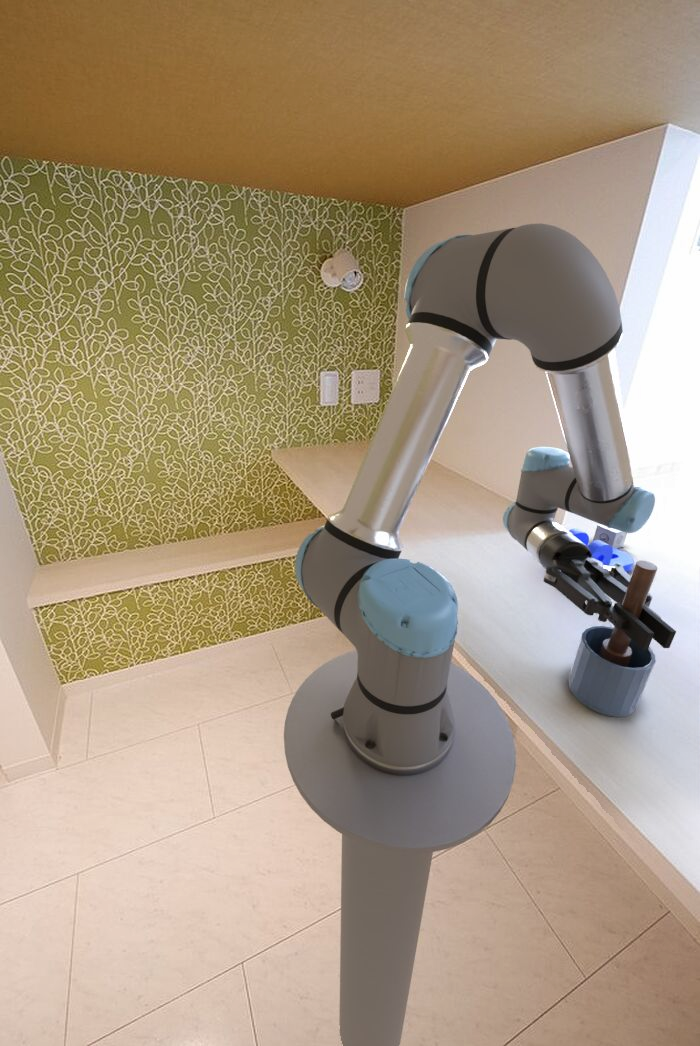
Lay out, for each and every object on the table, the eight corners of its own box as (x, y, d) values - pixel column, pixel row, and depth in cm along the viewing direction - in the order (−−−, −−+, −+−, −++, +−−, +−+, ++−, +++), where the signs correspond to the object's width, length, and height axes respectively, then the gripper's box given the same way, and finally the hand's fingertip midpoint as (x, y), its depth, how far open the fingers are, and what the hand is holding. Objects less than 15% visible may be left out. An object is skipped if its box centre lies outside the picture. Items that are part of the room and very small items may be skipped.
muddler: (602, 688, 64) (644, 573, 55) (587, 669, 67) (623, 558, 59) (626, 686, 65) (671, 572, 56) (609, 667, 68) (649, 557, 59)
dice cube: (604, 538, 114) (609, 521, 112) (622, 546, 110) (628, 528, 108) (592, 542, 112) (597, 525, 110) (610, 550, 108) (616, 533, 106)
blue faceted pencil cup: (591, 719, 62) (609, 672, 59) (556, 671, 71) (569, 627, 67) (651, 714, 64) (671, 667, 60) (609, 667, 72) (624, 623, 68)
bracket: (582, 583, 95) (592, 547, 91) (553, 565, 101) (561, 530, 98) (639, 568, 101) (652, 534, 97) (608, 552, 108) (618, 519, 104)
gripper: (593, 567, 79) (702, 658, 58) (513, 571, 78) (596, 667, 57) (604, 530, 76) (724, 613, 55) (521, 534, 74) (612, 621, 53)
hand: (659, 640), depth 56 cm, fingers closed on muddler, 2 cm apart
